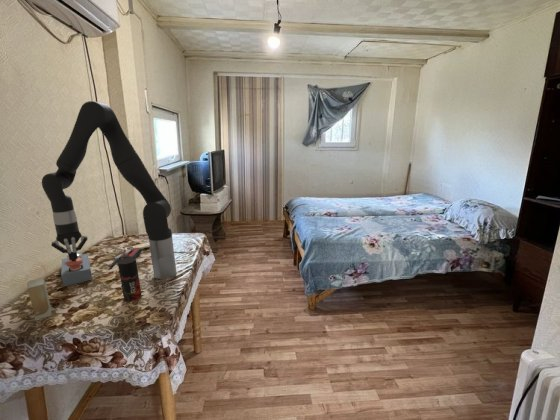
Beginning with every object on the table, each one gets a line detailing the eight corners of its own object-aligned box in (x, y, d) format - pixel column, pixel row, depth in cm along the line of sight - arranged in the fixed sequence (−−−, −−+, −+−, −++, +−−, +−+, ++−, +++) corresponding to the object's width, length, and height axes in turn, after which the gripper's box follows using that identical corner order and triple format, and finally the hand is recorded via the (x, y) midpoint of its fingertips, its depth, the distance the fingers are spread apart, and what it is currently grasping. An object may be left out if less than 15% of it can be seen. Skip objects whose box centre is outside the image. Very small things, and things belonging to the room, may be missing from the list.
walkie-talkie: (125, 252, 154) (107, 269, 135) (124, 245, 153) (105, 261, 134) (142, 252, 155) (126, 268, 136) (141, 244, 154) (125, 260, 134)
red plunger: (85, 275, 125) (82, 260, 123) (69, 278, 122) (66, 264, 120) (84, 270, 129) (81, 256, 128) (69, 273, 126) (66, 260, 125)
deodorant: (130, 303, 107) (123, 265, 103) (120, 298, 110) (114, 261, 106) (144, 295, 112) (139, 259, 108) (135, 291, 115) (129, 256, 111)
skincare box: (36, 312, 103) (27, 280, 99) (51, 307, 105) (44, 276, 102) (35, 321, 98) (26, 288, 94) (51, 316, 100) (43, 283, 97)
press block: (92, 279, 125) (90, 268, 124) (63, 286, 120) (61, 275, 119) (89, 263, 141) (87, 253, 140) (64, 269, 136) (61, 259, 134)
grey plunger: (84, 268, 134) (81, 255, 132) (69, 271, 131) (66, 258, 129) (84, 264, 138) (81, 251, 137) (69, 267, 135) (66, 254, 134)
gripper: (44, 226, 113) (54, 267, 117) (85, 220, 120) (92, 259, 125) (45, 222, 119) (54, 261, 123) (84, 216, 126) (91, 253, 131)
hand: (74, 260), depth 124 cm, fingers closed
